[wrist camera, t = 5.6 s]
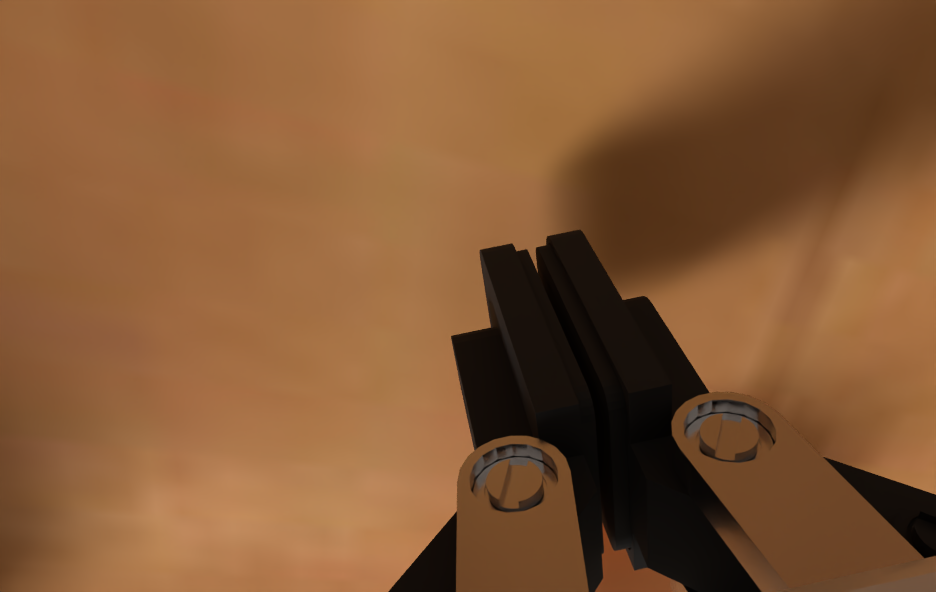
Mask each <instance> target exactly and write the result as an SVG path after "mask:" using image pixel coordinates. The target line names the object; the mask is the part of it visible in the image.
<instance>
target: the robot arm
mask: <svg viewBox="0 0 936 592" xmlns="http://www.w3.org/2000/svg"><path fill="white" fill-rule="evenodd" d="M536 259H537V268H538V273H537V270H536V268H535V266H534V264H533V261H532V259H531V257H530V255H529V252H528V250H521V251H516V250H515V247H514V245H513V244H507V245H502V246H497V247H492V248H487V249H482V250H480V260H481V266H482V273H483V279H484V286H485V292H486V298H487V305H488V311H489V317H490V324H491V328H487V329H482V330H477V331H473V332H468V333H463V334H458V335H453V336H451V339H452V344H453V350H454V355H455V360H456V365H457V370H458V375H459V380H460V385H461V390H462V395H463V400H464V404H465V409H466V414H467V418H468V423H469V427H470V432H471V436H472V441H473V445H474V450H475V451H474V452H473V453H471V454H470V455H469V456H468V457H467V459H466V460H465V462H464V463H463V465H462V467H461V468H460V472H459V476H458V481H457V512H456V513H455V514H454V515H453V516H452V518H451V519H450V520H449V521H448V522H447V523H446V525H445V526H444V527H443V528H442V529H441V531H440V532H439V533H438V534H437V535H436V536H435V538H434V539H433V540H432V541H431V542H430V543H429V545H428V546H427V547H426V548H425V549H424V551H423V552H422V553H421V554H420V555H419V556H418V558H417V559H416V560H415V561H414V562H413V563H412V565H411V566H410V567H409V568H408V569H407V570H406V572H405V573H404V574H403V575H402V576H401V578H400V579H399V580H398V581H397V582H396V583H395V585H394V586H393V587H392V588H391V589H390V590H389V592H595V590H596V589H597V587H598V586H599V584H600V583H601V581H602V579H603V566H602V554H603V553H604V542H603V526H602V523H603V525H604V528H605V531H606V533H607V536H608V539H609V541H610V544H611V546H612V548H613V550H614V551H618V550H622V549H626V551H627V553H628V556H629V559H630V561H631V564H632V566H633V569H634V571H635V570H639V569H643V568H649V569H651V570H653V571H655V572H658V573H660V574H662V575H664V576H666V577H668V578H670V587H671V589H672V591H673V592H936V495H935V494H932V493H929V492H926V491H923V490H920V489H917V488H914V487H911V486H908V485H905V484H902V483H899V482H896V481H893V480H890V479H887V478H884V477H881V476H878V475H875V474H872V473H869V472H867V471H864V470H861V469H858V468H855V467H852V466H849V465H846V464H843V463H840V462H837V461H834V460H831V459H828V458H825V457H822V456H821V455H820V454H819V453H818V452H817V451H816V450H815V449H814V448H813V447H812V446H811V445H810V444H809V443H808V442H807V441H806V440H805V439H804V438H803V437H802V436H801V435H800V434H799V433H798V432H797V431H796V430H795V429H794V428H793V427H792V426H791V425H790V424H789V423H788V422H787V421H786V420H785V419H784V418H783V417H782V416H781V415H780V414H779V413H778V412H777V411H776V410H774V409H773V408H772V407H770V406H769V405H768V404H766V403H765V402H763V401H760V400H758V399H756V398H754V397H751V396H748V395H744V394H739V393H734V392H712V393H709V391H708V390H707V388H706V386H705V385H704V383H703V382H702V380H701V379H700V377H699V376H698V374H697V373H696V371H695V369H694V368H693V366H692V365H691V363H690V362H689V360H688V359H687V357H686V355H685V354H684V352H683V351H682V349H681V348H680V346H679V345H678V343H677V342H676V340H675V338H674V337H673V335H672V334H671V332H670V331H669V329H668V328H667V326H666V324H665V323H664V321H663V320H662V318H661V317H660V315H659V314H658V312H657V311H656V309H655V307H654V306H653V304H652V303H651V302H650V300H649V299H648V298H647V297H645V296H641V297H636V298H631V299H626V300H622V298H621V296H620V295H619V293H618V291H617V290H616V288H615V286H614V285H613V283H612V281H611V279H610V278H609V276H608V274H607V273H606V271H605V269H604V268H603V266H602V264H601V262H600V261H599V259H598V257H597V256H596V254H595V252H594V251H593V249H592V247H591V246H590V244H589V242H588V240H587V239H586V237H585V235H584V234H583V232H582V231H581V230H576V231H571V232H566V233H561V234H556V235H551V236H547V239H546V246H541V247H537V248H536Z"/></svg>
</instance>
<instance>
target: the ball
mask: <svg viewBox="0 0 936 592" xmlns="http://www.w3.org/2000/svg"><path fill="white" fill-rule="evenodd" d="M602 526H603V542H604V553H603V554H602V566H603V579H602V581H601V583H600V584H599V586H598V587H597V589H596V590H595V592H673V591H672V589H671V587H670V578H668V577H666V576H664V575H662V574H660V573H658V572H655V571H653V570H651V569H649V568H643V569H639V570H635V571H634V569H633V566H632V564H631V561H630V559H629V556H628V553H627V551H626V549H622V550H618V551H614V550H613V548H612V546H611V544H610V541H609V539H608V536H607V533H606V531H605V528H604V525H603V523H602Z"/></svg>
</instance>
